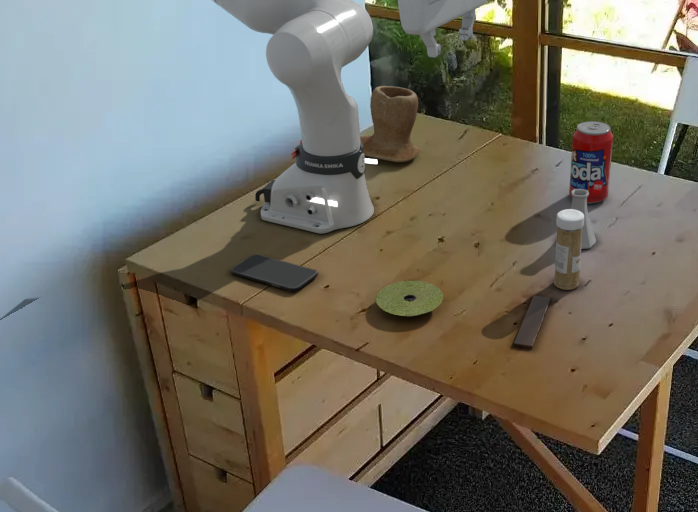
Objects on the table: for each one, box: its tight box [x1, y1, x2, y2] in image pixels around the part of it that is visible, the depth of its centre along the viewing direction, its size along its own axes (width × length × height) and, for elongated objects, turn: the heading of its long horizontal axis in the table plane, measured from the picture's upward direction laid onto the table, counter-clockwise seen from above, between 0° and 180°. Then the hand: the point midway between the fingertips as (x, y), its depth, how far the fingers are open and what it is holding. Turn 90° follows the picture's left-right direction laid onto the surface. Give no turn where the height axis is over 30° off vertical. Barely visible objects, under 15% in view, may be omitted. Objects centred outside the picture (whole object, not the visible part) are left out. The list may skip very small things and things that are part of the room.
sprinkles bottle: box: [553, 208, 584, 291], centre depth 159 cm, size 5×5×13 cm
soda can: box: [568, 120, 614, 205], centre depth 186 cm, size 8×8×15 cm
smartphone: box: [230, 253, 319, 292], centre depth 167 cm, size 7×1×15 cm
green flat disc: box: [375, 280, 444, 317], centre depth 157 cm, size 11×11×2 cm
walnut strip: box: [513, 295, 552, 350], centre depth 153 cm, size 3×15×1 cm, turn 164°
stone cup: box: [360, 85, 420, 164], centre depth 205 cm, size 15×12×15 cm
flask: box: [570, 189, 597, 250], centre depth 172 cm, size 7×7×10 cm
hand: (451, 47), depth 155 cm, fingers open, 8 cm apart
